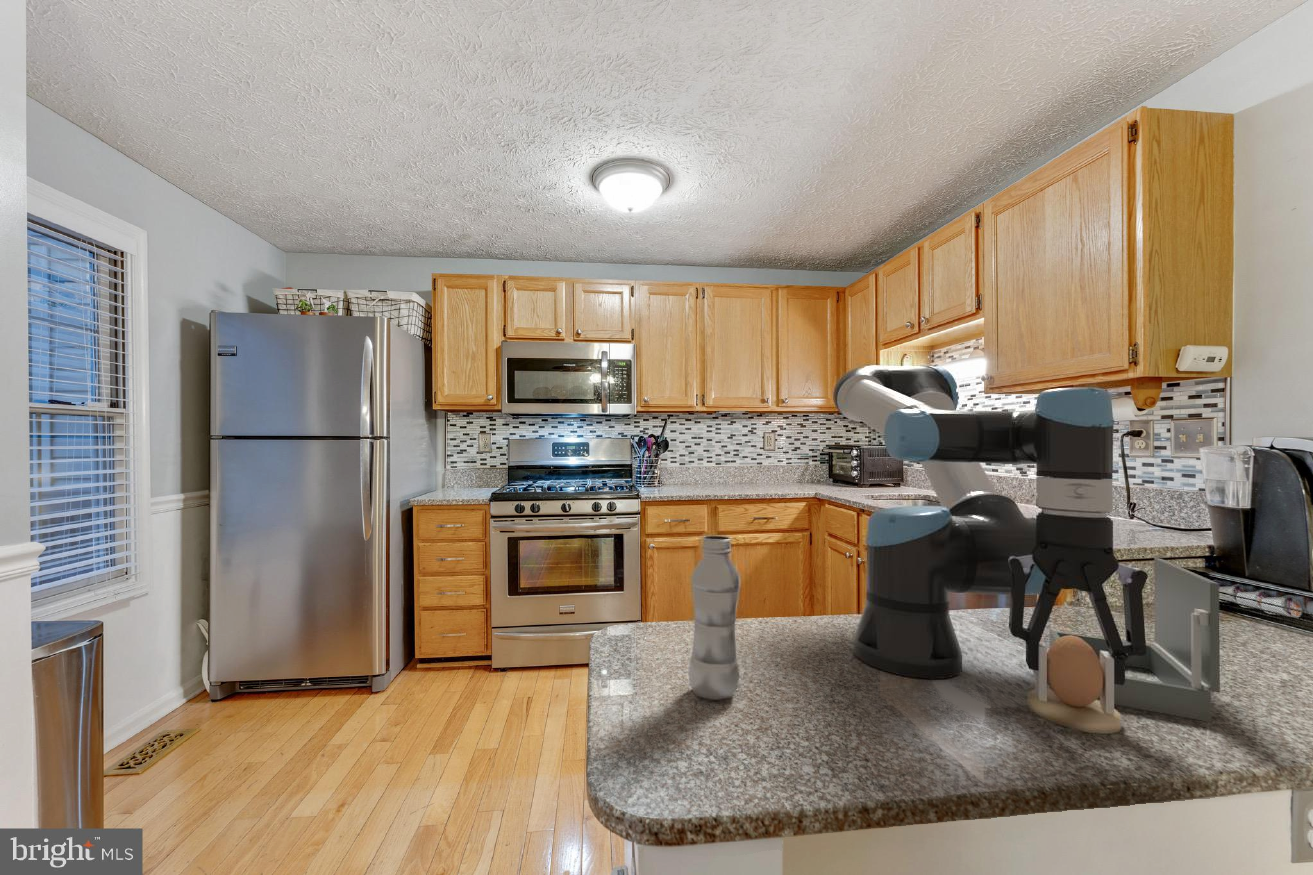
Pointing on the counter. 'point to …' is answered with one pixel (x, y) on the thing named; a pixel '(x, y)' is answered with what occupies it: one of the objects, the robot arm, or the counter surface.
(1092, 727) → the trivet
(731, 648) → the plastic bottle
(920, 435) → the robot arm
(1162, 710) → the grey hinged box
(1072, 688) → the egg
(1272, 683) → the counter surface
